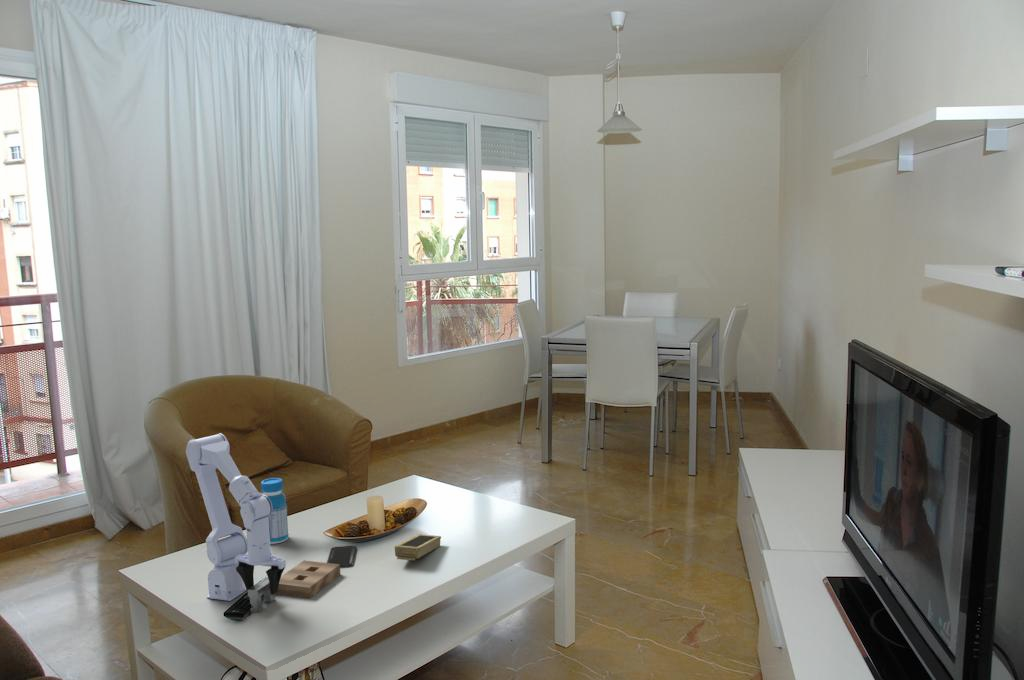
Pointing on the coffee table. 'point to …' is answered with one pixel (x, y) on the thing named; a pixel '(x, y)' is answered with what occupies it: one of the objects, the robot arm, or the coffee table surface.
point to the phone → (342, 556)
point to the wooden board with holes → (307, 578)
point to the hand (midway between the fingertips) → (262, 591)
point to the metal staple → (260, 594)
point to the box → (416, 546)
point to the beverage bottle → (276, 510)
